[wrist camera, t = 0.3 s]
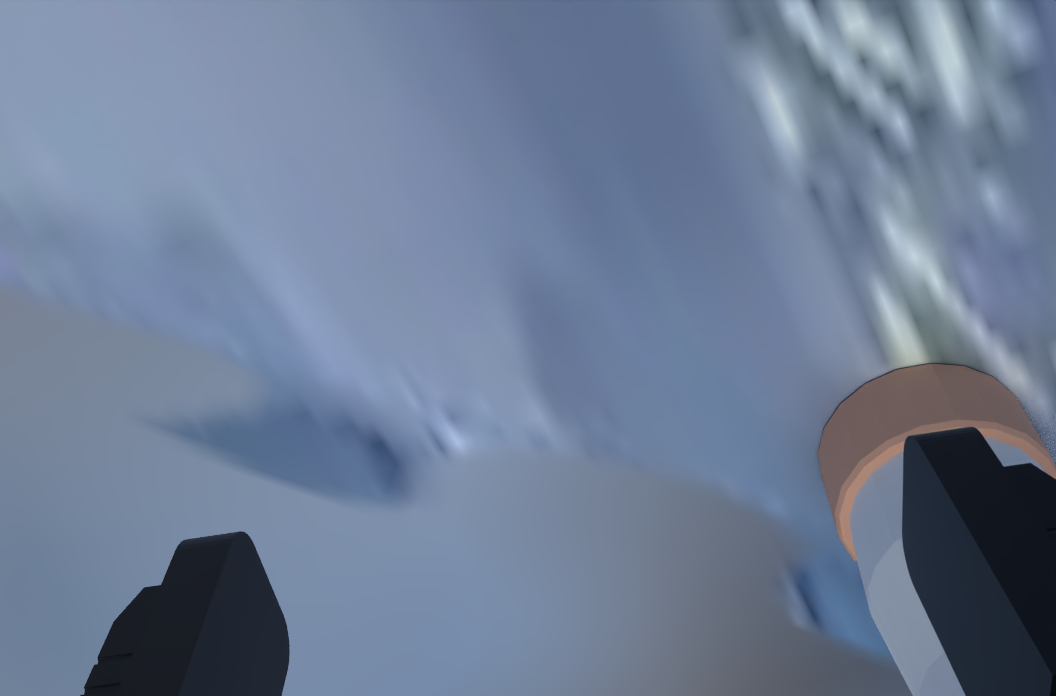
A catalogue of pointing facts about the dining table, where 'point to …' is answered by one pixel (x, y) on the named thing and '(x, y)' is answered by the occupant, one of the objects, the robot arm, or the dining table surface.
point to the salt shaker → (877, 490)
